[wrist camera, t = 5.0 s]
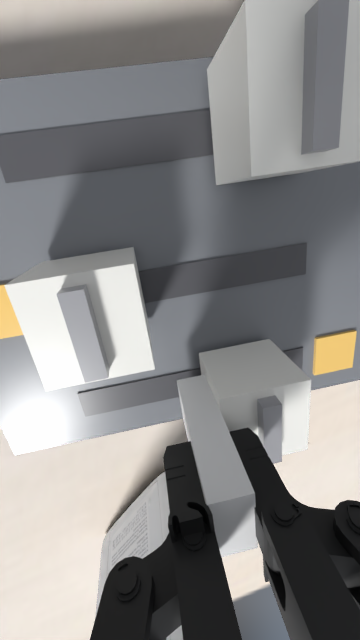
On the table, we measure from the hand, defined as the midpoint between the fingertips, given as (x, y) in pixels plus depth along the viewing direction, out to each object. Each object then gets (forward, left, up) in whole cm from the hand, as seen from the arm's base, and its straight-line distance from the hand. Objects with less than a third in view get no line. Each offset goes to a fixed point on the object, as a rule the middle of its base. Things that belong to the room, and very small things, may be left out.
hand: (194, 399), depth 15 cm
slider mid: (-4, +6, -1) cm, 7 cm away
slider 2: (+3, 0, -1) cm, 3 cm away
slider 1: (+4, +12, -1) cm, 13 cm away
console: (0, +6, -5) cm, 8 cm away
